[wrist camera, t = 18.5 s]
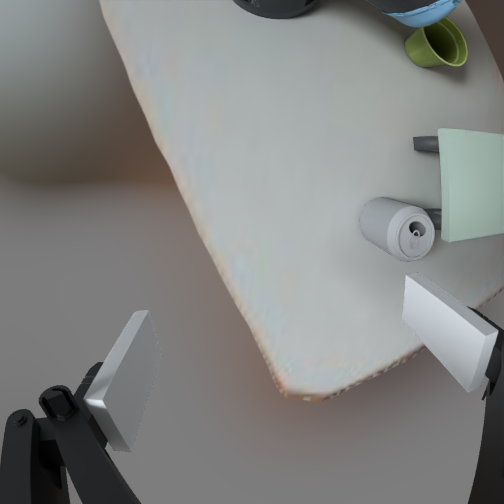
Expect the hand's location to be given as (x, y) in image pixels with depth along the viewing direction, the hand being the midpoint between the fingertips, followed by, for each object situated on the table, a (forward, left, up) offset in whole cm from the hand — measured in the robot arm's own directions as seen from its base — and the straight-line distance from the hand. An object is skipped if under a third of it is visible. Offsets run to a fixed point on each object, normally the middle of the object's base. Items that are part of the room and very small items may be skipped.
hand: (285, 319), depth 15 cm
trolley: (-3, +35, -32) cm, 47 cm away
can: (+3, +20, -32) cm, 38 cm away
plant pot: (-26, +32, -32) cm, 52 cm away
